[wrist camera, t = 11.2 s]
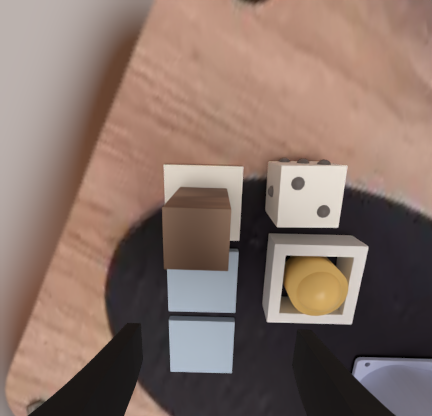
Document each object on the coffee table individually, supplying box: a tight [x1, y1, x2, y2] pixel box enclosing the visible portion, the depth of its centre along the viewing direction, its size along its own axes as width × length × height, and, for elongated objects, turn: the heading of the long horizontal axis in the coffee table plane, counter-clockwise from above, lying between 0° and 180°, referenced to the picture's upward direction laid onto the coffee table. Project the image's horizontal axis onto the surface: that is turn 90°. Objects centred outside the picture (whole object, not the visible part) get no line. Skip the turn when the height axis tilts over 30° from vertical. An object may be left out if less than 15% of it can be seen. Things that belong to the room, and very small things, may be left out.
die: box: [265, 158, 347, 228], centre depth 16 cm, size 4×4×4 cm
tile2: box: [164, 164, 243, 241], centre depth 18 cm, size 6×6×1 cm
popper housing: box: [262, 233, 368, 324], centre depth 19 cm, size 7×7×2 cm
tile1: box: [167, 249, 239, 313], centre depth 20 cm, size 6×6×1 cm
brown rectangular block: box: [162, 187, 231, 271], centre depth 15 cm, size 4×4×6 cm
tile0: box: [169, 316, 235, 373], centre depth 22 cm, size 6×6×1 cm
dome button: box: [283, 256, 348, 316], centre depth 18 cm, size 4×4×4 cm
